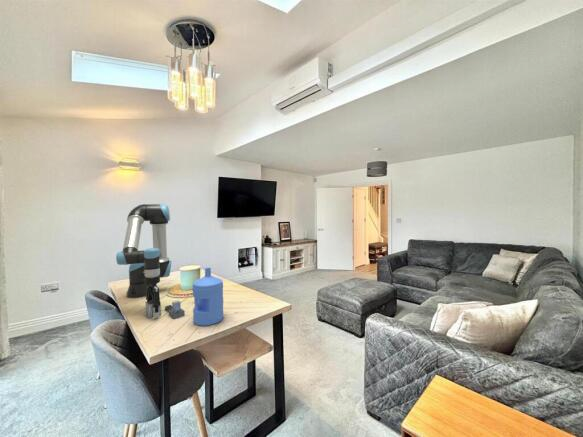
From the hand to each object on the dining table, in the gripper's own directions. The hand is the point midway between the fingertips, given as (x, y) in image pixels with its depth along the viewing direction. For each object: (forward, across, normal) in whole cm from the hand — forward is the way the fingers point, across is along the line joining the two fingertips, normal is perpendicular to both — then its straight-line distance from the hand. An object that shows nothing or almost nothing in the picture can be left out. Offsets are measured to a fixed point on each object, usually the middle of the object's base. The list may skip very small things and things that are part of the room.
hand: (153, 315), depth 137 cm
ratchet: (0, +5, +9) cm, 10 cm away
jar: (0, -1, +29) cm, 29 cm away
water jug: (0, +28, +19) cm, 34 cm away
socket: (0, 0, 0) cm, 0 cm away
